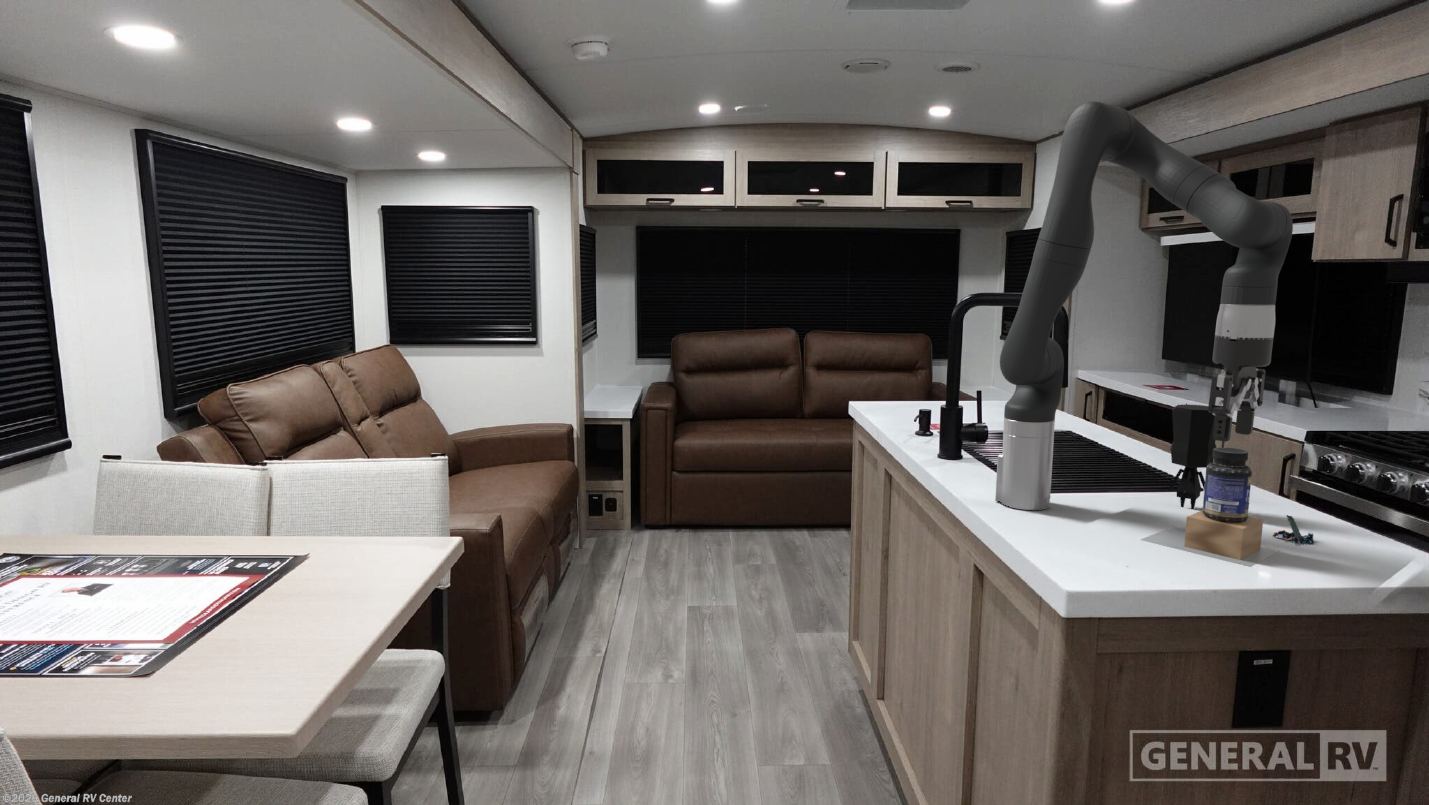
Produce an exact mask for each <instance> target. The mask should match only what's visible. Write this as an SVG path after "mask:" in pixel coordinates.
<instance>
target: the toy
mask: <svg viewBox="0 0 1429 805" xmlns="http://www.w3.org/2000/svg"><path fill="white" fill-rule="evenodd" d="M1208 406H1209V405H1203V404H1188V403H1185V404H1177V405H1176V406H1174V407H1173V408H1172V410H1171V412H1172V413H1171V414H1172V418H1171V419H1172V436H1173V441H1172V442H1171V445H1170V447H1169V449H1170V454H1171V456H1170V457H1171V464H1175V465H1179V466H1182V467H1184V469H1183V468H1179V470H1178V472H1177V473H1176V474H1175V477H1174V478H1173V480H1172V481H1171V484H1170V485H1169V487H1168V489H1167V490H1168V491H1169V492H1170V491H1172V490H1173V488H1174V487H1175V485H1176V483H1177V481H1178V480H1179V478H1180V476H1181V478H1180V480H1179V482H1178V485H1177V488H1176V498H1180V499H1179V500H1180V507H1181V508H1184V506H1185V502H1186V500H1187V499H1188V500H1190V509H1191V510H1195V506H1196V500H1197V499H1198V498H1199V497H1200V496H1201V492H1202V487H1203V490H1204V489H1205V478H1204V475H1203V472H1202V471H1201V470H1200V471H1198V468H1199V469H1200V468H1201V469H1204V468H1205V469H1206V467H1207V465H1208V464H1210V463H1212V462H1214V458H1213V455H1212V454H1213V449H1214V448H1217V444H1216V441H1217V440H1214V439H1213V429H1214V420H1215V415H1213V413H1209V412H1208ZM1201 486H1202V487H1201Z"/></svg>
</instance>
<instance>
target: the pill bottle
mask: <svg viewBox="0 0 1429 805" xmlns="http://www.w3.org/2000/svg"><path fill="white" fill-rule="evenodd" d="M1212 455H1213V458H1214V459H1213V462H1212V463H1210V464H1208V465H1207V467H1206V468H1205V478H1204V480H1205V489H1204V488H1203V490H1204V492H1203V501H1202V502H1203V503H1202V510H1203V514H1204V515H1205V516H1206V517H1208V518H1211V519H1214V520H1218V521H1223V522H1235V523H1237V522H1238V523H1240V522H1244V521H1246V520H1247V518H1248V516H1249V507H1250V496H1251V484H1252V475H1253V474H1252V473H1253V472H1252V470H1251V467H1249V466H1248V465H1246V461H1248V459H1249V451H1248V450H1244V449H1240V448H1234V447H1233V448H1232V447H1216V448H1214V449H1213V454H1212Z"/></svg>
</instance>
